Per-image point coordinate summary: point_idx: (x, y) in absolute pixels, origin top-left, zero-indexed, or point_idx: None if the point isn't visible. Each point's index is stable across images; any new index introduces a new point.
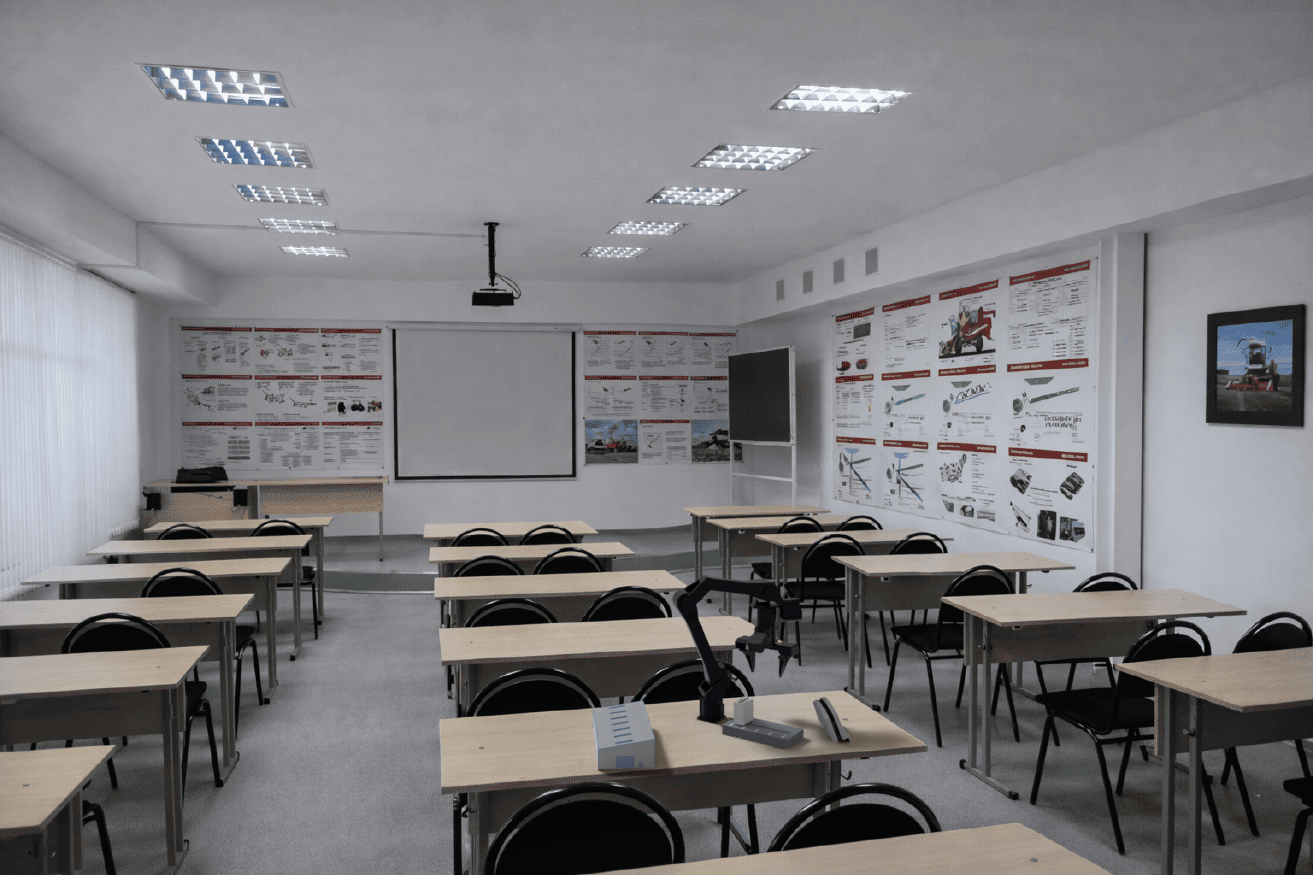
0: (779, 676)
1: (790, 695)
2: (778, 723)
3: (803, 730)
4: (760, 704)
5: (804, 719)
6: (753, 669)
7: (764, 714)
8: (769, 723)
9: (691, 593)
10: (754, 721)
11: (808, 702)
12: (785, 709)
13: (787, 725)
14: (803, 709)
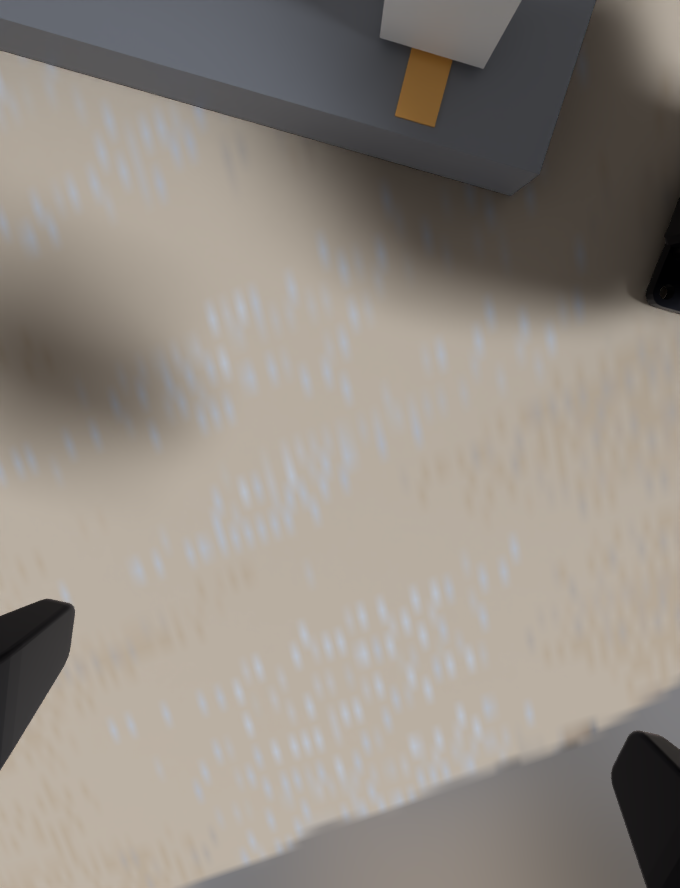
0: (54, 604)
1: (283, 843)
2: (126, 51)
3: None
4: (431, 646)
5: (66, 460)
6: (645, 799)
7: (363, 465)
8: (207, 13)
9: None
10: (363, 17)
11: (145, 767)
12: (247, 608)
13: (27, 21)
14: (135, 644)
